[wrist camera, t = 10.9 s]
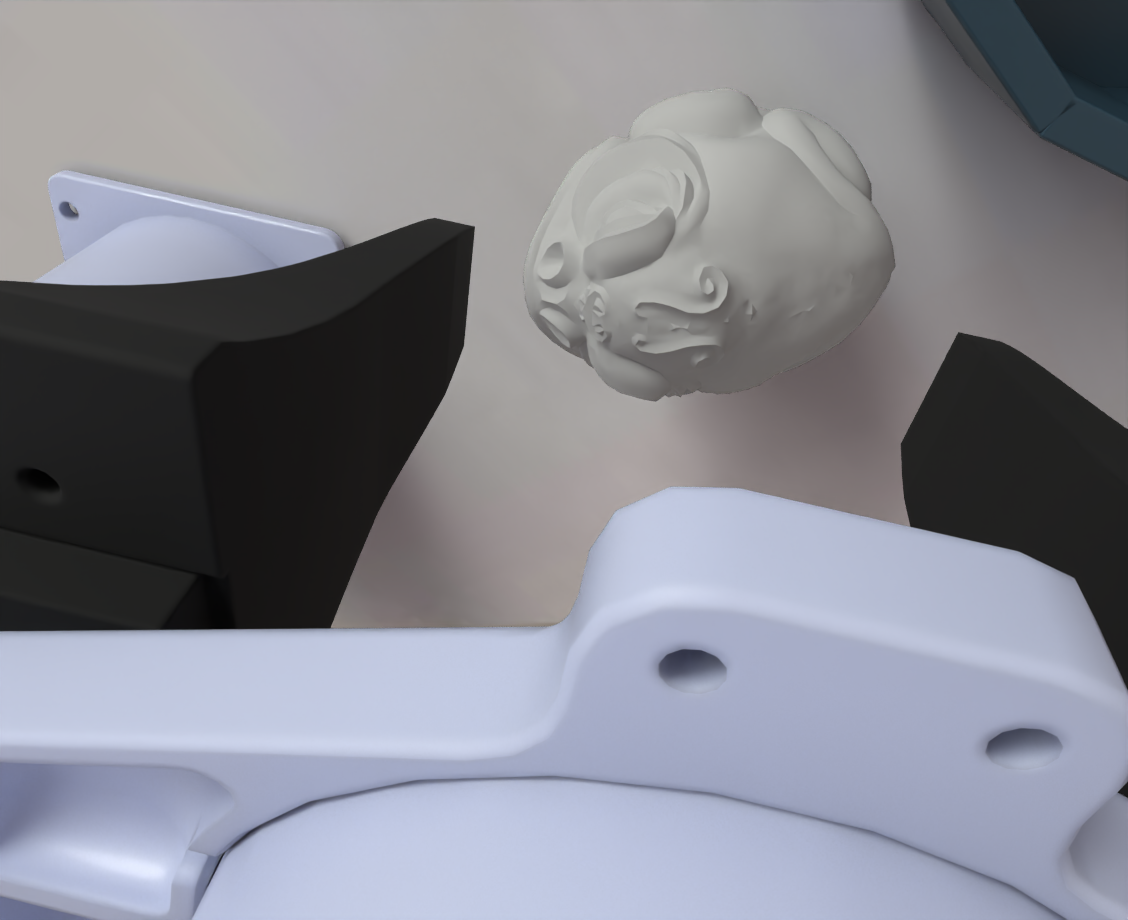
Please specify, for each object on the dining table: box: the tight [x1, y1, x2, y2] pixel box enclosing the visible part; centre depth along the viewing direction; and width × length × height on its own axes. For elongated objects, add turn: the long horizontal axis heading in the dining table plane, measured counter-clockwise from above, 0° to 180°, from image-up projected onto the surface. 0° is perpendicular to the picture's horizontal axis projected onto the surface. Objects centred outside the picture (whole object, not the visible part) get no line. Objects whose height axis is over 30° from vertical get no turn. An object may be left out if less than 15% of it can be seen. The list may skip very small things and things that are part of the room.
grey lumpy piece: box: [523, 88, 895, 401], centre depth 17 cm, size 6×7×7 cm
